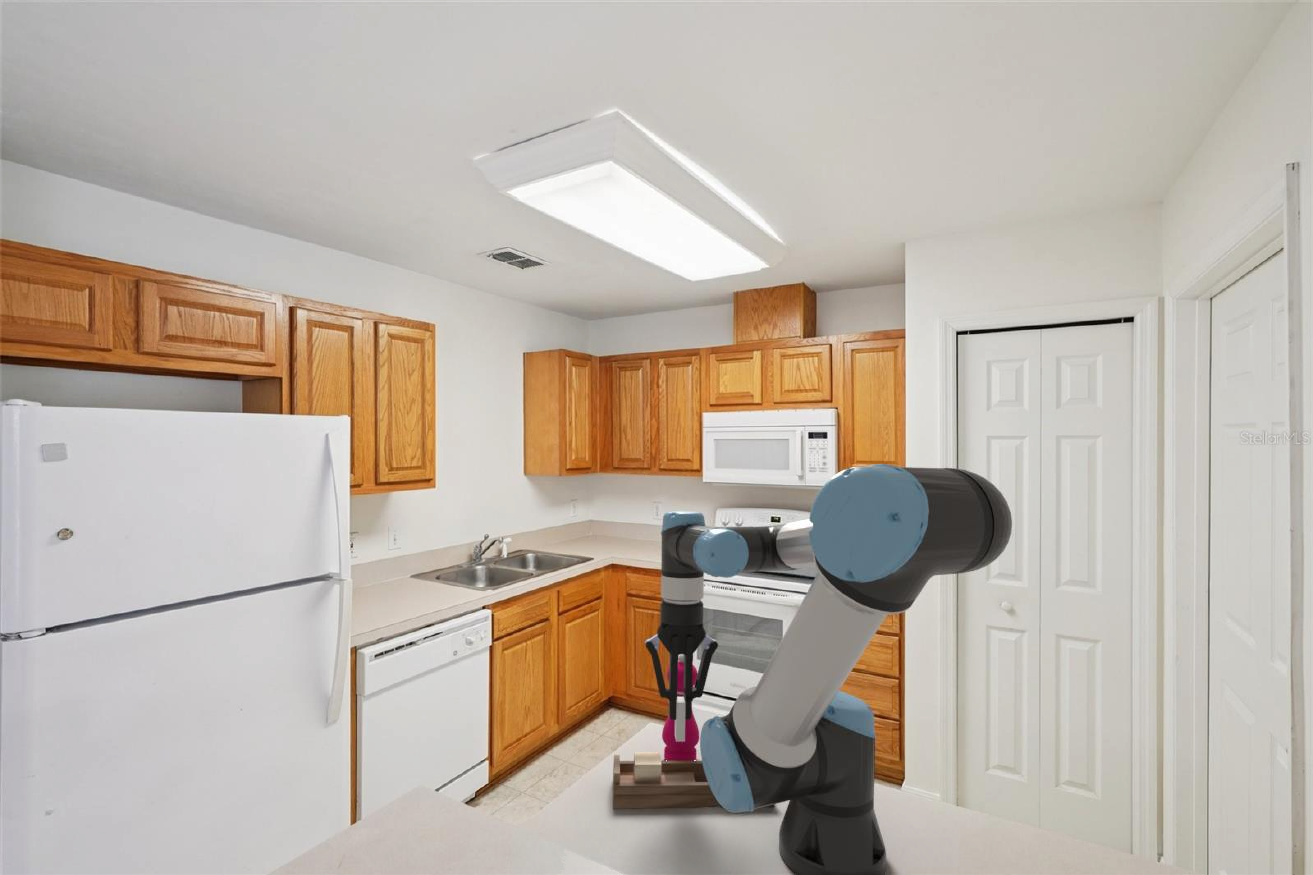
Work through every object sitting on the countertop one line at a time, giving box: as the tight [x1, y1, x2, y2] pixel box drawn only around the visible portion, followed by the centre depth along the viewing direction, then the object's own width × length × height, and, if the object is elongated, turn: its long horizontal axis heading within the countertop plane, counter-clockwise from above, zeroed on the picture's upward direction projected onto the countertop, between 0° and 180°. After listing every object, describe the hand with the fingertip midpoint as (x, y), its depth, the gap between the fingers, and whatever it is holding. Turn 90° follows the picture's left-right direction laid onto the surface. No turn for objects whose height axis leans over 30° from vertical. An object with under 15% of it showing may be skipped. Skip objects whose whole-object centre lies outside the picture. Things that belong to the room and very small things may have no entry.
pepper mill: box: [661, 654, 700, 761], centre depth 119 cm, size 7×7×20 cm
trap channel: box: [612, 754, 775, 809], centre depth 106 cm, size 9×27×5 cm, turn 94°
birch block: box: [633, 751, 662, 783], centre depth 105 cm, size 4×4×4 cm
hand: (679, 738), depth 106 cm, fingers closed
